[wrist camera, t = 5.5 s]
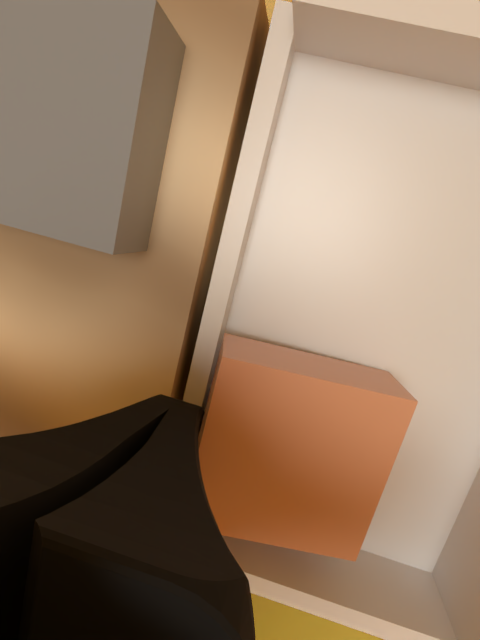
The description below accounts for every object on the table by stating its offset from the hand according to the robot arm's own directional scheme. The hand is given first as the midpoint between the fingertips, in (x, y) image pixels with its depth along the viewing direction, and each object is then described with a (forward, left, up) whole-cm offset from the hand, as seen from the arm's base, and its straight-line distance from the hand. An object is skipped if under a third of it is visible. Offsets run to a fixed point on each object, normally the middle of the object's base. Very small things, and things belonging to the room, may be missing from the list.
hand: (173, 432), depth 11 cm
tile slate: (+7, +4, -1) cm, 8 cm away
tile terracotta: (0, -3, -2) cm, 4 cm away
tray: (+4, -5, -3) cm, 6 cm away
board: (+4, +4, -3) cm, 6 cm away
